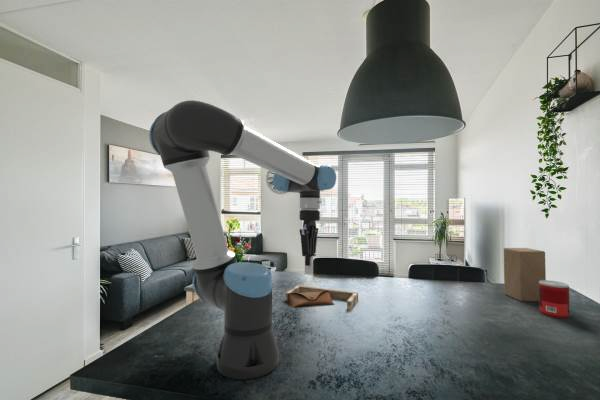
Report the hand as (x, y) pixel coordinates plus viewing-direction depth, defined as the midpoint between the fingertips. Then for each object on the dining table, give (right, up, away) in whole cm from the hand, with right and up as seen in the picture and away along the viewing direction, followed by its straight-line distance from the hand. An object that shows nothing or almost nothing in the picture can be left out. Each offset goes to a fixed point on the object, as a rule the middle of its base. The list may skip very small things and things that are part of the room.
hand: (308, 274), depth 105 cm
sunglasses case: (+1, -14, +9) cm, 17 cm away
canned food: (+86, -13, -4) cm, 87 cm away
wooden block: (+90, -14, +14) cm, 92 cm away
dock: (+5, -14, +11) cm, 18 cm away
